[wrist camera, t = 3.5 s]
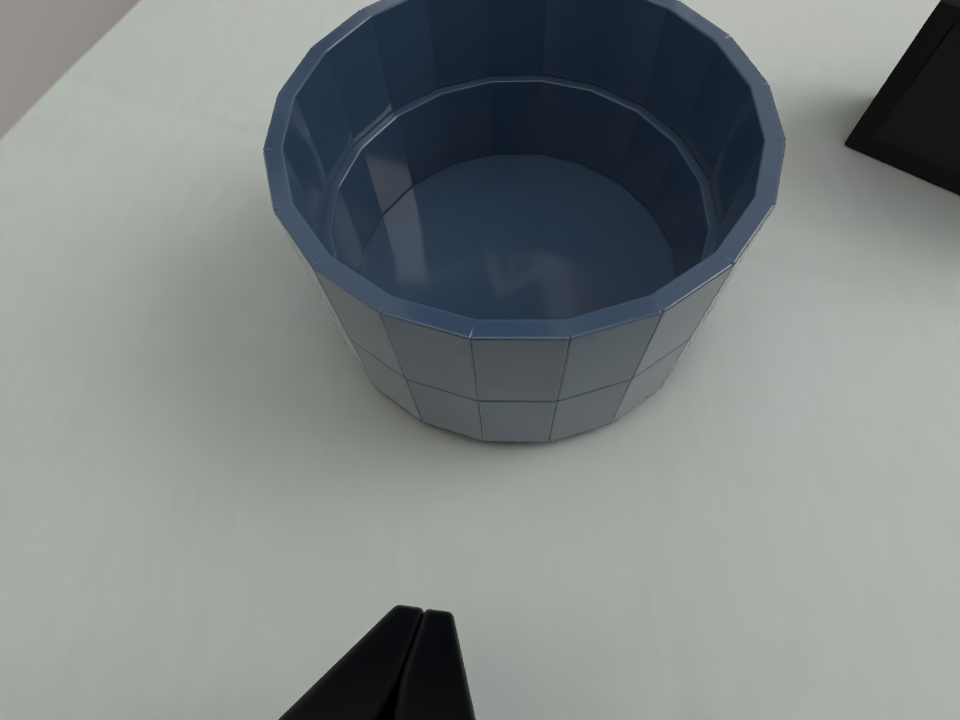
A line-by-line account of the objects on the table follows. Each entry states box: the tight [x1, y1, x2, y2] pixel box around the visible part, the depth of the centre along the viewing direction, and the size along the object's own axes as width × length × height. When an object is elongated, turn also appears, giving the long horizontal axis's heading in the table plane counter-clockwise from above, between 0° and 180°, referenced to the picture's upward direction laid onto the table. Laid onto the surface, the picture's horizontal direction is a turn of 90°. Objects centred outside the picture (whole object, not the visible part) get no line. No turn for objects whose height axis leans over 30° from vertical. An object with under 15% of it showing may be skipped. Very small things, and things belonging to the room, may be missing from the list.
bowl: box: [263, 0, 785, 442], centre depth 21 cm, size 15×15×8 cm
